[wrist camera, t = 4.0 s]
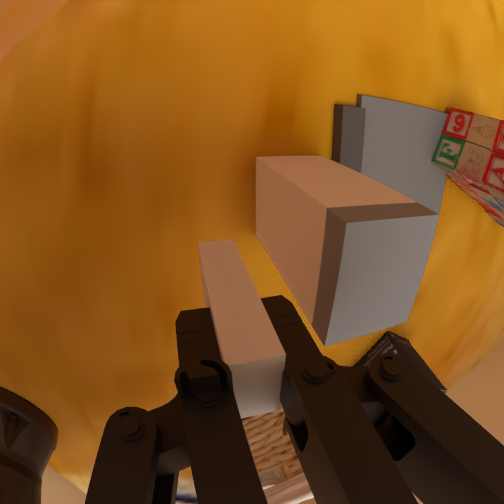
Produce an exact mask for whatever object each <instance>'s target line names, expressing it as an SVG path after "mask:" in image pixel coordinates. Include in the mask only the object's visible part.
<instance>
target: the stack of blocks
mask: <svg viewBox="0 0 504 504" xmlns="http://www.w3.org/2000/svg"><path fill="white" fill-rule="evenodd" d="M442 133H443V135H442V136H441V139H440V141H439V144H438V147H437V149H436V152H435V155H434V157H433V160H432V162H433V163H434V164H435V165H436V166H437V167H439V168H440V169H441V170H442V171H443V172H445V173H446V174H447V176H448V177H449V178H450V179H452V180H453V181H454V182H455V183H456V184H457V185H458V186H460V187H461V188H462V189H463V190H464V191H465V192H466V193H467V194H468V195H469V196H471V197H473V198H474V199H475V200H476V201H477V202H478V203H479V204H481V205H482V206H483V207H484V208H485V209H486V210H487V212H488V213H489V214H490V215H491V217H492V218H494V219H495V220H496V221H497V222H498V223H499V224H500V225H502V226H503V227H504V121H503V120H498V119H494V118H490V117H486V116H483V115H479V114H475V113H472V112H468V111H463V110H459V109H454V108H451V109H450V112H449V115H448V118H447V121H446V124H445V127H444V130H443V132H442Z"/></svg>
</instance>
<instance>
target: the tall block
mask: <svg viewBox="0 0 504 504" xmlns="http://www.w3.org/2000/svg"><path fill="white" fill-rule="evenodd" d="M438 217H439V214H437V213H435V212H434V211H432V210H430V209H428V208H427V207H425V206H423V205H421V204H419V203H418V202H416V201H414V200H412V199H410V198H408V197H407V196H405V195H403V194H401V193H399V192H397V191H395V190H393V189H391V188H389V187H387V186H385V185H383V184H381V183H379V182H377V181H375V180H373V179H371V178H369V177H367V176H365V175H363V174H361V173H359V172H357V171H355V170H352V169H350V168H348V167H346V166H344V165H341V164H339V163H337V162H335V161H332V160H330V159H328V158H325V157H323V156H321V155H302V156H265V157H256V236H257V237H258V239H259V241H260V242H261V244H262V245H263V247H264V249H265V250H266V252H267V254H268V255H269V257H270V258H271V260H272V262H273V263H274V265H275V266H276V268H277V270H278V271H279V273H280V275H281V276H282V278H283V279H284V281H285V283H286V284H287V286H288V288H289V289H290V291H291V292H292V294H293V296H294V297H295V299H296V301H297V302H298V304H299V305H300V307H301V309H302V310H303V312H304V314H305V315H306V317H307V319H308V320H309V322H310V323H311V325H312V327H313V328H314V330H315V332H316V333H317V335H318V337H319V338H320V340H321V342H322V343H323V345H324V346H328V345H332V344H335V343H339V342H343V341H346V340H350V339H353V338H357V337H360V336H364V335H367V334H370V333H373V332H377V331H380V330H383V329H386V328H389V327H392V326H395V325H398V324H401V323H404V322H407V320H408V317H409V314H410V312H411V309H412V306H413V303H414V301H415V298H416V295H417V292H418V289H419V286H420V283H421V280H422V277H423V273H424V270H425V267H426V263H427V260H428V256H429V253H430V249H431V246H432V242H433V238H434V234H435V230H436V226H437V222H438Z"/></svg>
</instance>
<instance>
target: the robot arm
mask: <svg viewBox="0 0 504 504" xmlns="http://www.w3.org/2000/svg"><path fill="white" fill-rule="evenodd" d="M198 249H199V259H200V268H201V277H202V285H203V294H204V300H205V305H206V308H200V309H193V310H185V311H181V312H180V314H179V316H178V318H177V320H176V322H175V323H176V335H177V347H178V358H179V368H178V369H177V371H176V372H175V379H174V381H175V384H176V387H177V390H178V393H177V395H176V396H175V398H173V399H172V400H171V401H170V402H169V403H167V404H165V405H163V406H161V407H158V408H156V409H153V410H151V411H148V412H147V411H146V410H145V409H141V408H138V407H125V408H122V409H120V410H117V411H116V412H115V413H114V414H112V415H111V416H110V418H109V420H108V421H107V423H106V426H105V429H104V432H103V436H102V439H101V443H100V446H99V450H98V453H97V457H96V460H95V464H94V468H93V472H92V476H91V480H90V484H89V488H88V492H87V496H86V500H85V504H175V502H176V493H177V484H178V476H179V471H180V470H183V469H185V468H187V467H190V466H191V470H192V475H193V480H194V485H195V490H196V495H197V500H198V504H268V502H267V499H266V497H265V494H264V491H263V488H262V485H261V482H260V478H259V475H258V472H257V469H256V466H255V463H254V460H253V456H252V453H251V450H250V447H249V443H248V440H247V437H246V433H245V430H244V427H243V423H242V420H241V418H246V417H251V416H256V415H260V414H265V413H269V412H273V411H278V410H279V409H280V402H281V405H282V407H283V410H284V412H285V418H284V424H283V429H282V430H283V436H284V435H287V431H288V434H289V437H290V439H291V442H292V444H293V447H294V449H295V452H296V454H297V457H298V459H299V462H300V464H301V467H302V469H303V472H304V474H305V477H306V479H307V482H308V484H309V486H310V489H311V491H312V494H313V496H314V498H315V501H316V503H317V504H418V502H417V501H416V499H415V497H414V495H413V494H412V492H413V493H414V494H415V495H416V496H417V497H418V498H419V499H420V500H421V501H422V502H423V503H424V504H504V446H503V445H502V444H501V443H500V442H499V441H498V440H497V439H495V438H494V437H493V436H492V435H491V434H490V433H489V432H488V431H486V430H485V429H484V428H483V427H482V426H481V425H479V424H478V423H477V422H476V421H475V420H474V419H473V418H472V417H471V416H469V415H468V414H467V413H466V412H465V411H464V410H463V409H461V408H460V407H459V406H458V405H457V404H456V403H454V402H453V401H452V400H451V399H450V398H449V397H448V396H447V395H445V394H444V393H443V392H442V391H441V390H440V389H438V388H437V387H436V386H435V385H434V384H433V383H432V382H430V381H429V380H428V379H427V378H426V377H425V376H423V375H422V374H421V373H420V372H419V371H418V370H416V369H415V368H414V367H413V366H412V365H410V364H409V363H408V362H407V361H406V360H404V359H403V358H401V357H399V356H397V355H394V354H381V355H378V356H376V357H375V358H374V359H373V360H372V361H371V362H370V364H369V366H358V367H347V366H340V365H337V364H336V363H335V362H334V361H333V360H331V359H329V358H328V357H326V356H323V355H322V354H321V352H320V351H319V349H318V347H317V345H316V344H315V342H314V340H313V339H312V337H311V335H310V333H309V332H308V330H307V328H306V326H305V325H304V323H303V322H302V319H301V318H300V316H299V315H298V312H297V311H296V309H295V307H294V306H293V304H292V303H291V302H290V301H289V300H287V299H286V298H285V297H283V296H282V295H278V296H272V297H266V298H260V297H259V294H258V292H257V290H256V288H255V285H254V283H253V281H252V279H251V277H250V274H249V272H248V270H247V268H246V265H245V263H244V261H243V259H242V257H241V254H240V252H239V250H238V248H237V245H236V243H235V241H234V239H226V240H217V241H209V242H201V243H198ZM57 438H58V431H57V428H56V426H55V425H54V423H53V422H52V421H51V420H50V419H49V418H48V417H47V416H46V415H45V414H44V413H43V412H41V411H40V410H39V409H37V408H36V407H35V406H33V405H32V404H30V403H29V402H27V401H25V400H24V399H22V398H20V397H18V396H16V395H15V394H13V393H10V392H8V391H6V390H4V389H1V388H0V504H41V484H42V474H43V472H44V470H45V468H46V466H47V464H48V462H49V460H50V458H51V455H52V453H53V451H54V450H55V449H56V445H57ZM411 491H412V492H411Z"/></svg>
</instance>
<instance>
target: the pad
mask: <svg viewBox="0 0 504 504" xmlns="http://www.w3.org/2000/svg"><path fill="white" fill-rule="evenodd" d="M448 115H449V114H447V113H443V112H440V111H436V110H432V109H428V108H424V107H420V106H416V105H412V104H407V103H403V102H398V101H393V100H388V99H383V98H377V97H371V96H365V95H357V107H354V106H345V105H335V113H334V136H333V153H332V161H335V162H337V163H339V164H341V165H344V166H346V167H348V168H350V169H352V170H355V171H357V172H359V173H361V174H363V175H365V176H367V177H369V178H371V179H373V180H375V181H377V182H379V183H381V184H383V185H385V186H387V187H389V188H391V189H393V190H395V191H397V192H399V193H401V194H403V195H405V196H407V197H408V198H410V199H412V200H414V201H416V202H418V203H419V204H421V205H423V206H425V207H427V208H428V209H430V210H432V211H434V212H435V213H437V214H439V212H440V207H441V202H442V197H443V192H444V187H445V181H446V175H447V174H446V173H445V172H443V171H442V170H441V169H440V168H439V167H437V166H436V165H435V164H434V163H433V162H432V160H433V157H434V155H435V152H436V149H437V147H438V144H439V141H440V139H441V136H442V135H443V133H442V132H443V130H444V127H445V124H446V121H447V118H448Z"/></svg>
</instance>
